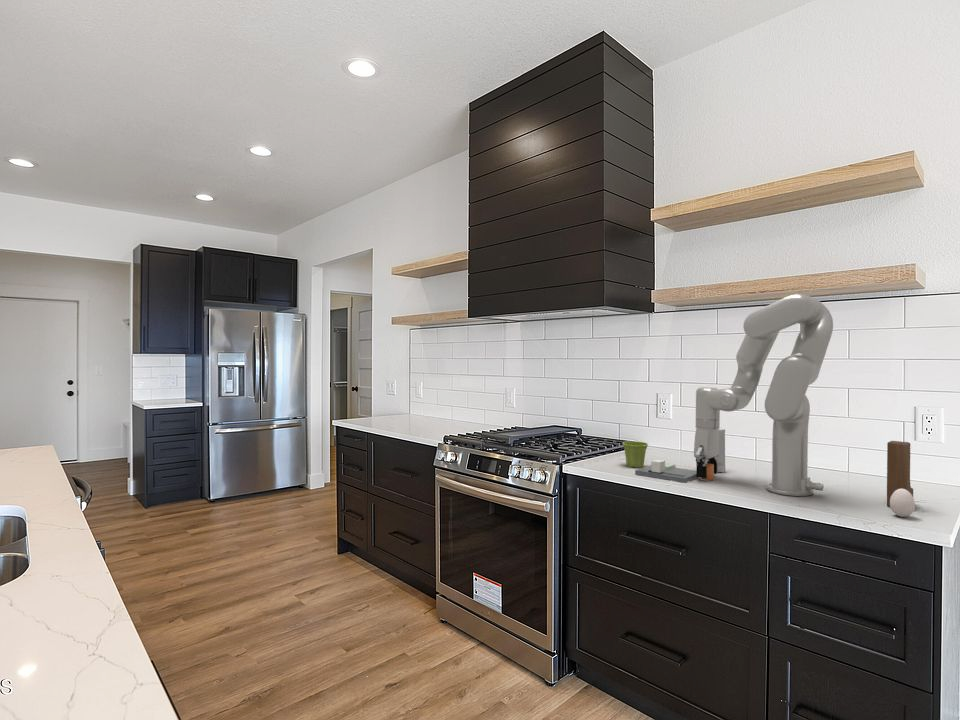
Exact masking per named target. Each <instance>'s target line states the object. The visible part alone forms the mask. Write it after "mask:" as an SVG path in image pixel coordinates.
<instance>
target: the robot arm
mask: <svg viewBox="0 0 960 720" xmlns="http://www.w3.org/2000/svg"><path fill="white" fill-rule="evenodd" d="M833 320H834V319H833V316H832V314H831V311H830V310H829V308H828V307H827V306H826V305H825V304H823V303H822V301H819V300H818V299H816V298H815V297H813V296H811V295H805V294H801V293H794V294H791V295H788V296H785V297H783V298H781V299H778V300H776V301H774V302H773V303H770V304H768V305H766V306H764V307H761V308H759V309H758V310H755V311H753V312H751V313H749V314H748V316H746V318H745V319H744V322H743V325H742V326H743V327H742V328H743V330H744V331H743V332H744V333H745V336H744V338H743V339H742V342H741V344H740V346H739V349H738V350H737V352H736V355H735V356H736V357H735V359H736V363H737V371H736V375H735V378H734V380H733V382H732V383H731V385H730V386H731V387H728V388H716V387H709V386H706V387H705V386H704V387H698V388H697V389H696V391H695V434H694V442H693V443H694V444H693V445H694V446H693V457H694V458H695V462H696V463H695V464H696V471H697V472H696V476H697V477H699V478H700V479H701V478H707V466H706V462H707V463H709V464H713V465H714V475H717V474H718V473H717V461H718V459H717V456H718V449H719V441H718V429H720V428H721V427H720V424H721V422H720V421H721V419H720V417H721V416H720V414H721V412H720V411H723V412H728V413H729V412H734V411H739V410H742V409H744V408H746V407H747V406H748V405H749V403H750V402H751V400H752V398H753V396H754V394H755V393H756V391H757V388H758V386H759V382H760V379H761V377H762V373H763V369H764V364H765V363H766V360H767V358H768V357H769V355H770V352H771V350H772V348H773V346H774V344H775V341H776V339H777V337H778V335H779V333H780V331H782V330H785V329H787V328H789V327H792V326H794V325H797V324H799V325H800V329H799V330H800V331H799V332H798V335H797V337H796V340H795V342H794V345H793V348H792V352H791V354H790V355H789V356H786V357H784V358H783V359H781V361H779V362H778V364H777V366H776V368H775V371H774V373H773V376H772V379H771V382H770V384H769V388H768V390H767V393H766V397H765V400H764V410H765V412H766V415H767V416H768V417H769V418H770V419H772V421H773V422H772V423H773V424H772V446H771V448H772V450H771V453H772V454H771V457H772V458H771V459H772V461H771V483H768V484H766V490H767V491H769V492H772V493H774V494H779V495H783V496H794V497H806V496H811V495H814V490H815V491H821V492H823V491H824V484H823V483H820V482H813V481H812V480H811V477H809V476H808V465H809V464H808V463H809V462H808V459H809V458H808V457H809V456H808V455H809V454H808V453H809V452H808V450H809V449H808V448H809V447H808V446H809V445H808V444H809V443H808V442H809V423H810V422H809V421H810V412H811V405H810V400H809V399H808V397H807V395H806V393H807V390H808V387H809V386H810V385H812V384H813V383H815V382H816V381H817V379H818V378H819V375H820V372H821V367H822V365H823V362H824V359H825V356H826V354H827V350H828V348H829V344H830V341H831V338H832V335H833V330H834V321H833ZM702 456H704V457H702ZM702 459H703V460H704V461H703V460H702ZM707 459H708V461H707Z"/></svg>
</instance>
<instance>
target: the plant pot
mask: <svg viewBox="0 0 960 720" xmlns="http://www.w3.org/2000/svg"><path fill="white" fill-rule="evenodd" d="M622 446H623V449H624V455H625V463H626V464H625V465H626V466H627V467H628V466H629V468H635V467H641V468H644V465H645V460H646V459H645V458H646V452H647V449H648V446H649V443H648V442H643V441H637V440H635V441H631V440H630V441H623V442H622Z"/></svg>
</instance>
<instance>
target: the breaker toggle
mask: <svg viewBox="0 0 960 720" xmlns="http://www.w3.org/2000/svg"><path fill="white" fill-rule="evenodd" d="M665 463H666V460H663V459H655V460H652V461H651V465H650V466H651V471H652V472H658V473H660V472H663V471H665Z"/></svg>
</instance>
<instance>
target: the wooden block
mask: <svg viewBox="0 0 960 720" xmlns="http://www.w3.org/2000/svg"><path fill="white" fill-rule="evenodd" d="M886 444H887V447H886V448H887V450H886V457H887V458H886V507H888V508H891V507H890V498H891V496H892V494H893V493H894V491H896V490H898V489H905V490H907V491H908V492H910V493H911V495H912V496H913V497H914V488H912V487H911V443H910V442H908V441H898V440H891V441H888V442H887V443H886Z"/></svg>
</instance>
